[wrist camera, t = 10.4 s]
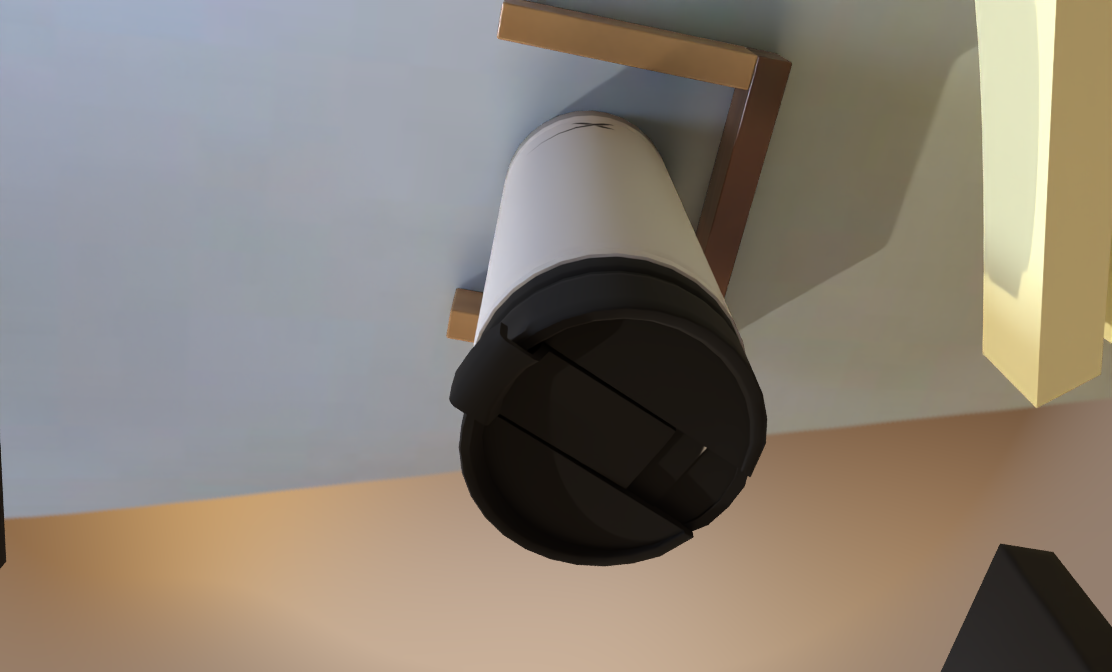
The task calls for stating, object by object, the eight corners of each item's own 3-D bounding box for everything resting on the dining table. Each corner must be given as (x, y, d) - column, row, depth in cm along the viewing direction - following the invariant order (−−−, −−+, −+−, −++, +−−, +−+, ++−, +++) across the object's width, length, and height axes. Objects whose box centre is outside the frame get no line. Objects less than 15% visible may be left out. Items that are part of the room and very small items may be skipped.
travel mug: (561, 68, 35) (568, 234, 17) (701, 174, 37) (848, 431, 18) (465, 203, 37) (376, 484, 19) (602, 298, 39) (643, 642, 20)
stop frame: (505, -4, 34) (502, 1, 32) (777, 53, 35) (792, 62, 33) (452, 314, 39) (445, 338, 37) (691, 358, 40) (699, 383, 37)
